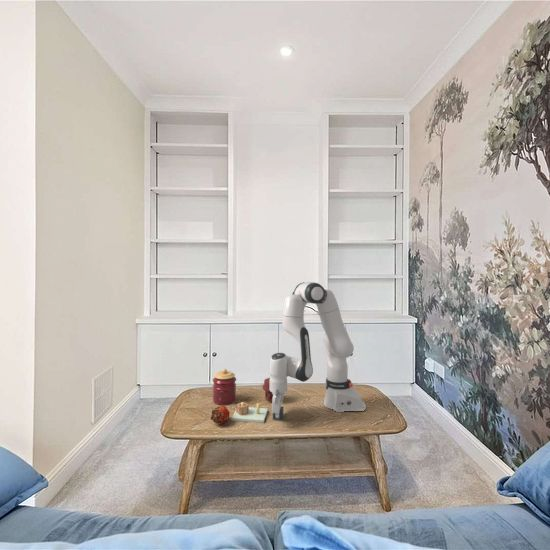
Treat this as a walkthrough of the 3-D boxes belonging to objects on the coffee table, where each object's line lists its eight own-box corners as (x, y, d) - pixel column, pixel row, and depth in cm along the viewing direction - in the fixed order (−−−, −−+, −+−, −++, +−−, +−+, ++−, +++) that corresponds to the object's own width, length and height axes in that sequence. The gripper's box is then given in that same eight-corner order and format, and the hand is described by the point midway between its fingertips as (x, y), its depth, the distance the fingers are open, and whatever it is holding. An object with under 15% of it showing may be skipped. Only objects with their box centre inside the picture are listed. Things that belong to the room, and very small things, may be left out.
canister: (208, 403, 178) (208, 371, 177) (219, 394, 190) (219, 364, 189) (229, 406, 174) (229, 374, 173) (239, 397, 186) (240, 366, 185)
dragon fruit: (216, 432, 150) (220, 423, 162) (231, 421, 151) (234, 412, 163) (206, 416, 151) (210, 409, 163) (221, 405, 152) (224, 398, 164)
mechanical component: (280, 396, 187) (280, 404, 177) (263, 396, 187) (262, 403, 177) (280, 375, 187) (280, 382, 177) (263, 375, 187) (262, 381, 177)
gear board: (267, 410, 169) (267, 399, 169) (263, 422, 156) (263, 410, 156) (237, 408, 171) (237, 396, 171) (231, 420, 159) (231, 407, 158)
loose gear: (283, 415, 164) (283, 406, 164) (282, 420, 159) (282, 411, 159) (273, 414, 165) (273, 405, 165) (272, 419, 160) (272, 410, 160)
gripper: (282, 395, 151) (282, 424, 151) (286, 379, 171) (286, 405, 171) (268, 394, 151) (268, 423, 152) (274, 378, 172) (274, 404, 172)
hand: (278, 413), depth 162 cm, fingers closed on loose gear, 5 cm apart
